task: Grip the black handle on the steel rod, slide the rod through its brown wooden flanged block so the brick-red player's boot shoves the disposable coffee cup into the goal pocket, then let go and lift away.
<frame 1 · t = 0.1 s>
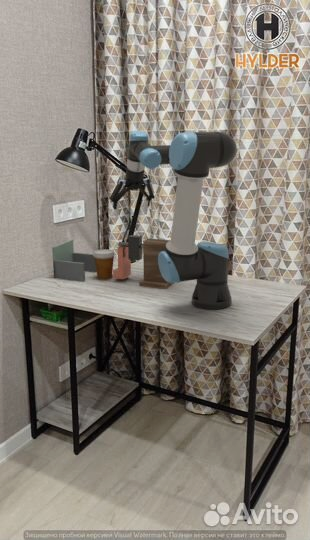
hand: (130, 214, 233), 28 cm above the table, tool tilted 20°, fingers open, 13 cm apart
player rod: (148, 258, 226), point 11 cm above the table, slide at 0.0 cm
disposable coffee cup: (104, 278, 237), on the table
brown wooden flanged block: (157, 283, 228), on the table
goal pocket: (77, 274, 241), on the table
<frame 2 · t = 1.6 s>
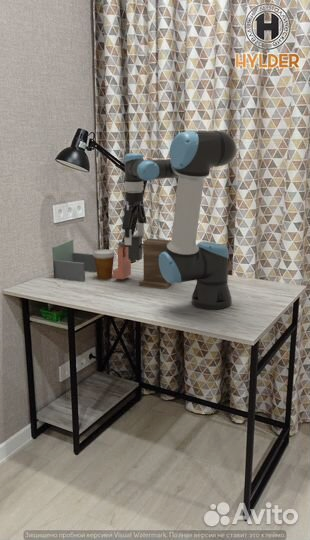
hand: (134, 241, 227), 18 cm above the table, tool pointing down, fingers open, 13 cm apart
nothing on the table moved.
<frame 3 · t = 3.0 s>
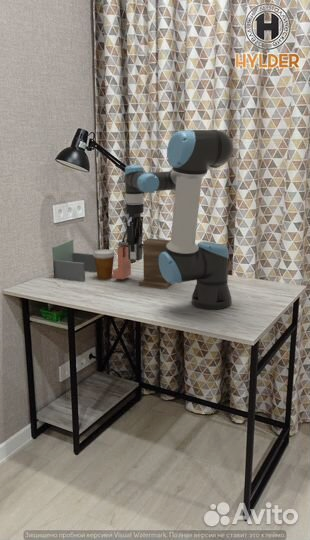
hand: (135, 257, 229), 11 cm above the table, tool pointing down, fingers closed on player rod, 3 cm apart
player rod: (148, 258, 226), point 11 cm above the table, slide at 0.0 cm, touching gripper
everything else where it was.
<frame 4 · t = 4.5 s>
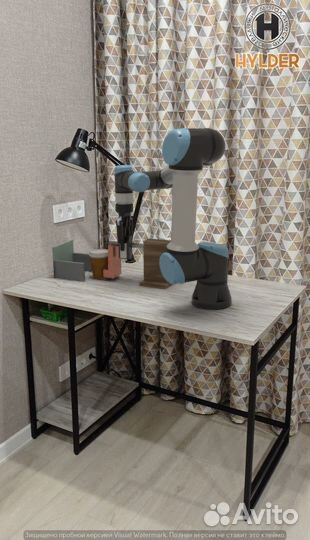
hand: (125, 256, 230), 11 cm above the table, tool pointing down, fingers closed on player rod, 3 cm apart
player rod: (139, 257, 228), point 11 cm above the table, slide at 4.6 cm, touching disposable coffee cup, gripper
disposable coffee cup: (100, 277, 238), on the table, touching player rod
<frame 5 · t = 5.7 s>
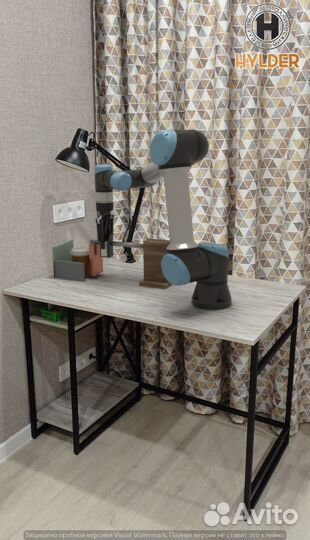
hand: (106, 254, 233), 11 cm above the table, tool pointing down, fingers closed on player rod, 3 cm apart
player rod: (119, 255, 231), point 11 cm above the table, slide at 13.7 cm, touching disposable coffee cup, gripper
disposable coffee cup: (82, 275, 241), on the table, touching player rod
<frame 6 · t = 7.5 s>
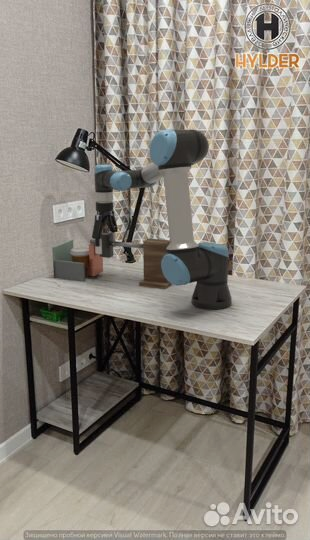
hand: (105, 250, 233), 13 cm above the table, tool pointing down, fingers open, 13 cm apart
player rod: (119, 255, 231), point 11 cm above the table, slide at 13.7 cm
disposable coffee cup: (82, 275, 241), on the table
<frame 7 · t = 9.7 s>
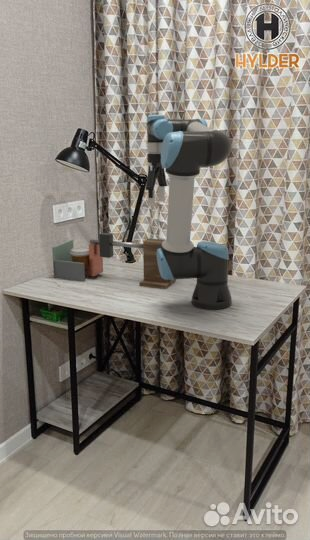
hand: (156, 203, 229), 33 cm above the table, tool pointing down, fingers open, 13 cm apart
nothing on the table moved.
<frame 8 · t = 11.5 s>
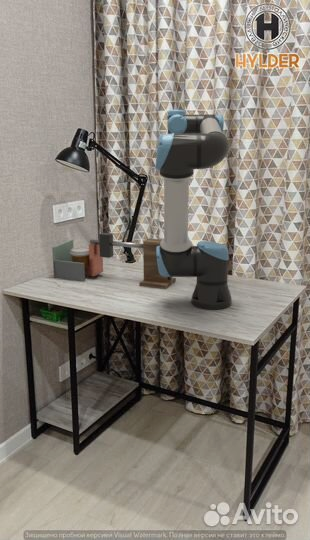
hand: (176, 198, 230), 35 cm above the table, tool pointing down, fingers open, 13 cm apart
nothing on the table moved.
at the end: disposable coffee cup inside the target area (2.9 cm from its centre), on the table; disposable coffee cup tilted 0°; player rod slide at 13.7 cm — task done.
